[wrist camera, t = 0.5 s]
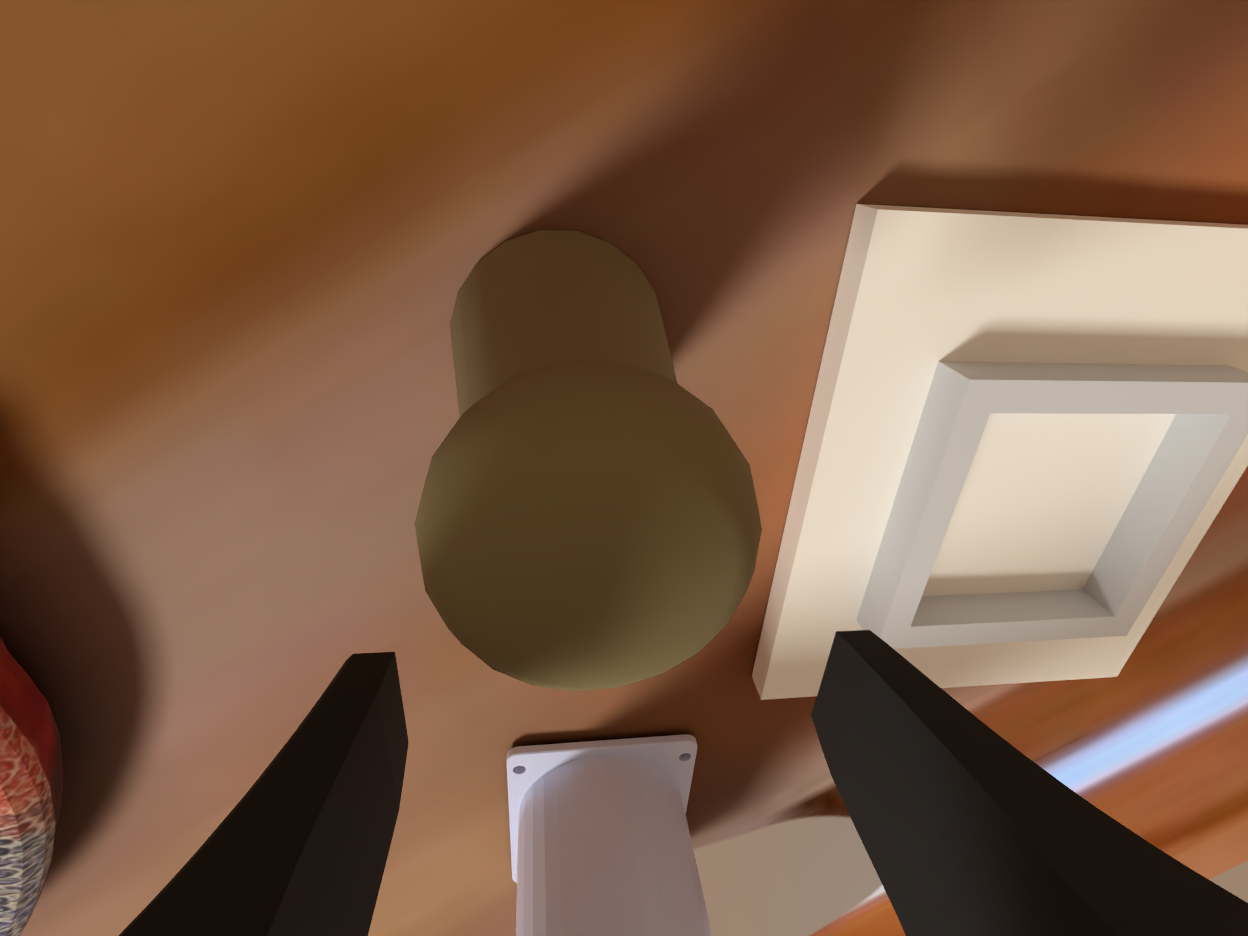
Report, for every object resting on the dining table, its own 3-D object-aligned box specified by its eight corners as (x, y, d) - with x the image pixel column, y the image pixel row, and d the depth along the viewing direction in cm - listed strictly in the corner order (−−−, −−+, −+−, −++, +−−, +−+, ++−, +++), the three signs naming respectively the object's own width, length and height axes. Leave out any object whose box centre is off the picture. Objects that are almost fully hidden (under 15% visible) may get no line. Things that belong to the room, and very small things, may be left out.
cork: (654, 212, 16) (837, 349, 7) (672, 418, 19) (814, 708, 10) (423, 247, 16) (280, 442, 6) (478, 451, 19) (436, 786, 10)
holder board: (1095, 655, 28) (1146, 705, 25) (751, 676, 26) (773, 732, 23) (1342, 229, 19) (1456, 245, 17) (856, 203, 17) (908, 216, 15)
